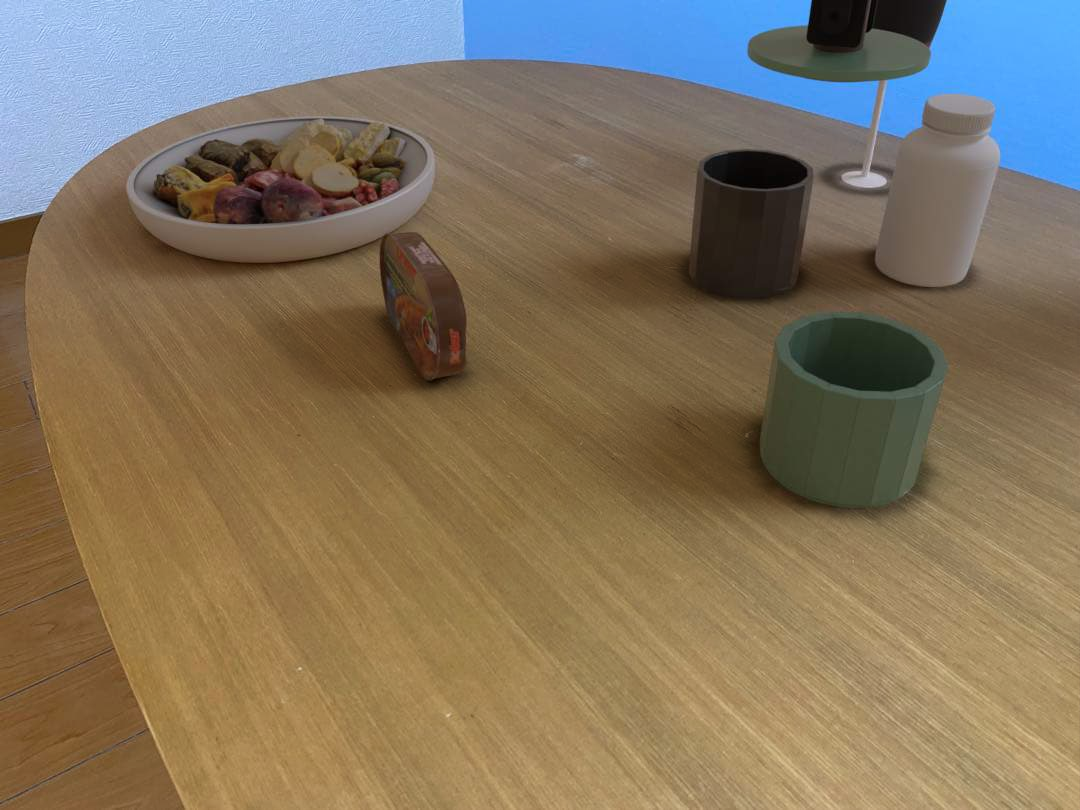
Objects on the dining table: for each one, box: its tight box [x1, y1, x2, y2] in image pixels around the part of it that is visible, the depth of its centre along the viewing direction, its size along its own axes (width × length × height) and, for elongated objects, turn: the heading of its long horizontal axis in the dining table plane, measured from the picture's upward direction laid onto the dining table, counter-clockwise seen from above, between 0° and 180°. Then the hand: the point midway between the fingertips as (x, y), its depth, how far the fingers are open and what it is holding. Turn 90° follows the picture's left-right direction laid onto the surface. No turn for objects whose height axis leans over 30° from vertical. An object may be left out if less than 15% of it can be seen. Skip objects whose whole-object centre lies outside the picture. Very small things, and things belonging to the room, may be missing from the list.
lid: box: [746, 0, 932, 83], centre depth 57 cm, size 11×11×6 cm
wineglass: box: [841, 0, 948, 189], centre depth 95 cm, size 8×9×20 cm
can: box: [759, 311, 949, 509], centre depth 60 cm, size 10×10×8 cm
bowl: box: [125, 115, 436, 264], centre depth 95 cm, size 30×30×8 cm
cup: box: [688, 148, 815, 300], centre depth 81 cm, size 9×9×10 cm
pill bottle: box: [874, 93, 1001, 288], centre depth 80 cm, size 8×8×15 cm
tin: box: [379, 231, 468, 381], centre depth 72 cm, size 15×3×8 cm, turn 23°
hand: (839, 34), depth 58 cm, fingers closed on lid, 3 cm apart
